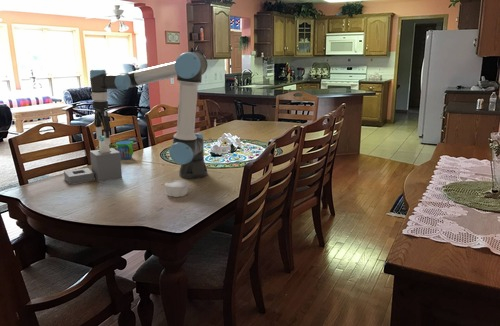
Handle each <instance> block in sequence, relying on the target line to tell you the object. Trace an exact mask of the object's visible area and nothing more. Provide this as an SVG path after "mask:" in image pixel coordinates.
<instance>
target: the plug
mask: <svg viewBox="0 0 500 326" xmlns="http://www.w3.org/2000/svg"><path fill="white" fill-rule="evenodd" d="M98 138H99V140H98V146H99V149H100V153H107V152H110V148H109V144H105V143H104V135H102V136H98Z"/></svg>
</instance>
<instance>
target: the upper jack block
mask: <svg viewBox="0 0 500 326" xmlns="http://www.w3.org/2000/svg"><path fill="white" fill-rule="evenodd" d="M89 156H90V157H89V158H90V166H91V168H90V169H91V171H92V172H93V173H94V179H95V181H97V182H98V183H99V182H106V181H112V180H117V179H118V180H119V179H122V178H123V173H122V161H121V160H122V159H120V152H119V151H118V150H115V149H114V148H110V152H107V153H100V150H98V149H95V150H89Z"/></svg>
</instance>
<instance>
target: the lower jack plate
mask: <svg viewBox="0 0 500 326" xmlns="http://www.w3.org/2000/svg"><path fill="white" fill-rule="evenodd" d="M63 176H64V177H63V178H64V179H65V181H66V182H67V183H68V184H69V185H75V184H81V183H86V182H87V183H88V182H93V181H96V179H95V178H94V173H93V172H92V169H91V168H89V167H84V168H75V169H71V170H64V171H63Z"/></svg>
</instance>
